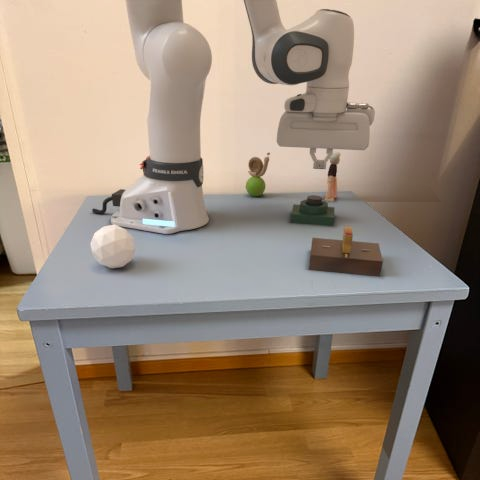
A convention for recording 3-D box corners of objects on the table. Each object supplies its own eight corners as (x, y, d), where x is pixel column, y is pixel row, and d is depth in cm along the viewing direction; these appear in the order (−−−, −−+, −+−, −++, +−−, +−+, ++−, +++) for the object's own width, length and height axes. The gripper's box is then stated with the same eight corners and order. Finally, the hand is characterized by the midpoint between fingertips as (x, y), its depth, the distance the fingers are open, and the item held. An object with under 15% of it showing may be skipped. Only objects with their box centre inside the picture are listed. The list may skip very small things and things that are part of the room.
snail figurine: (261, 200, 122) (264, 154, 116) (241, 196, 125) (243, 151, 119) (271, 196, 126) (274, 151, 120) (251, 192, 129) (253, 148, 123)
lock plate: (308, 269, 85) (310, 253, 83) (310, 251, 93) (312, 236, 91) (379, 276, 83) (383, 260, 81) (376, 257, 91) (378, 242, 89)
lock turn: (341, 243, 88) (344, 225, 86) (349, 244, 88) (351, 225, 86) (342, 252, 84) (345, 233, 82) (350, 253, 84) (353, 234, 82)
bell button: (306, 206, 107) (306, 198, 106) (306, 202, 110) (307, 194, 109) (321, 207, 106) (322, 200, 105) (321, 203, 109) (322, 195, 108)
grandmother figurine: (339, 203, 122) (345, 154, 116) (324, 202, 122) (330, 153, 116) (334, 195, 129) (340, 148, 122) (320, 194, 129) (326, 147, 122)
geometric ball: (107, 276, 86) (90, 238, 86) (146, 260, 86) (129, 221, 86) (95, 274, 79) (77, 231, 78) (138, 256, 79) (119, 213, 78)
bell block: (290, 223, 107) (291, 206, 105) (293, 212, 114) (294, 197, 112) (333, 226, 106) (335, 209, 104) (333, 215, 113) (335, 200, 111)
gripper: (375, 101, 98) (365, 167, 105) (280, 99, 101) (277, 163, 108) (377, 105, 92) (366, 174, 100) (277, 102, 95) (274, 169, 103)
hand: (319, 168), depth 104 cm, fingers closed
